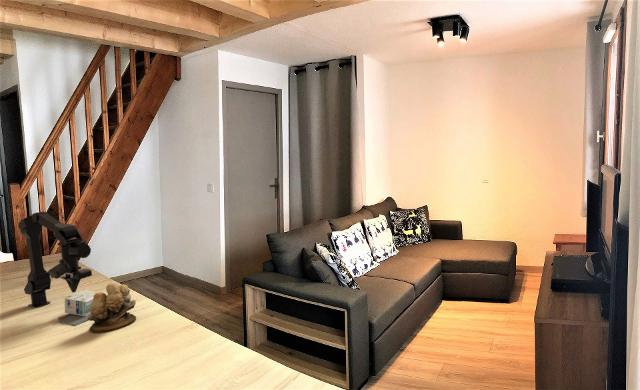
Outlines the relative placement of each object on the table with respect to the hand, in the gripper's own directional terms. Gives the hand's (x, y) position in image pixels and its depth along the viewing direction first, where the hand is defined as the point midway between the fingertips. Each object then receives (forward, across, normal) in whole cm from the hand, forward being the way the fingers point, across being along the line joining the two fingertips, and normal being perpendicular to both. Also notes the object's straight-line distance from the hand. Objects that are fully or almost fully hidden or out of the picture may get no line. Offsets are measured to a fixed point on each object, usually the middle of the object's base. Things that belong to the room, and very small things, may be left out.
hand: (73, 292), depth 187 cm
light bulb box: (+4, -2, +1) cm, 5 cm away
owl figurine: (+10, +27, -2) cm, 29 cm away
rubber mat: (+9, +7, 0) cm, 12 cm away
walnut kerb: (+9, +1, 0) cm, 9 cm away
